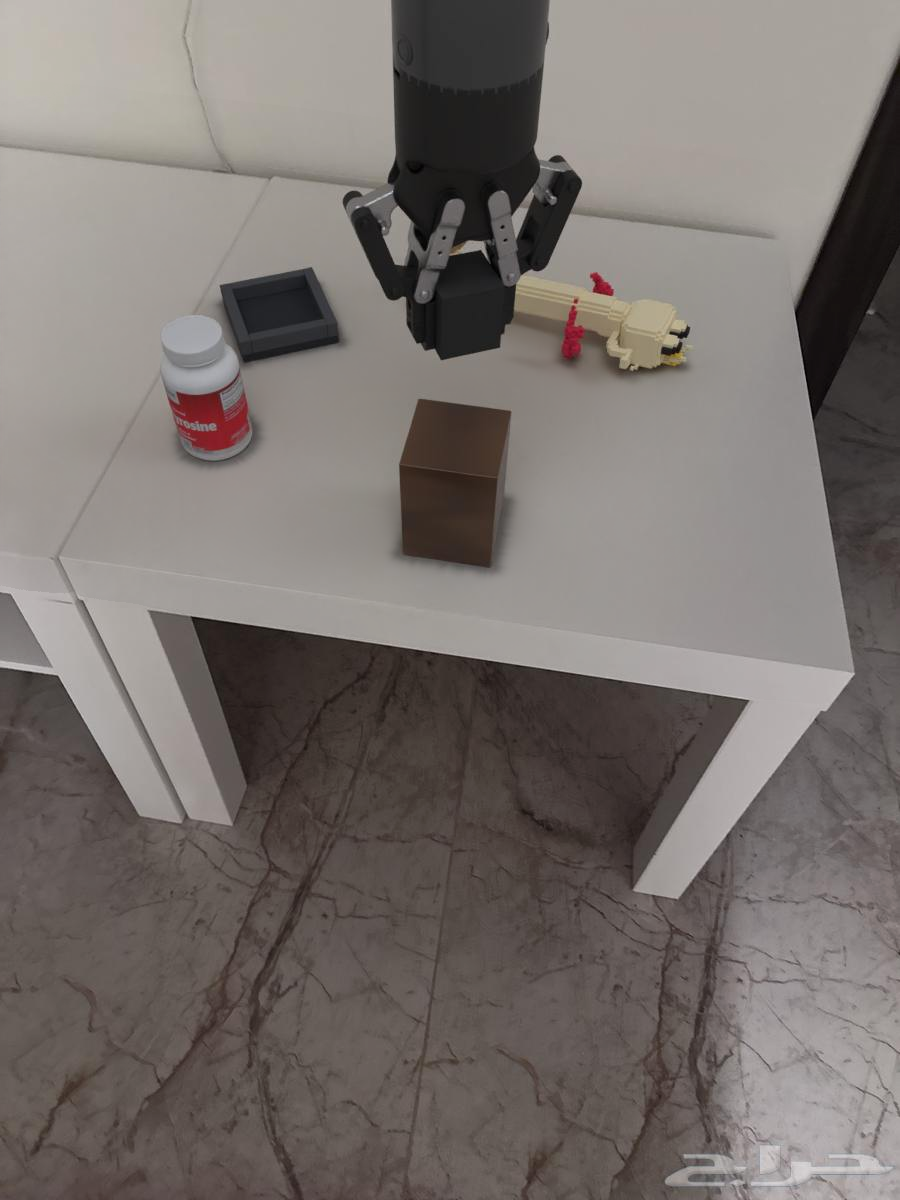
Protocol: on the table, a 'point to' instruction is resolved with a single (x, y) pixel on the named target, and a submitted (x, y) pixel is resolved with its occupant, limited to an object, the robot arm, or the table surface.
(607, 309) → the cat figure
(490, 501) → the riser
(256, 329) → the dark open tray
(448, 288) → the black block
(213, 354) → the pill bottle
